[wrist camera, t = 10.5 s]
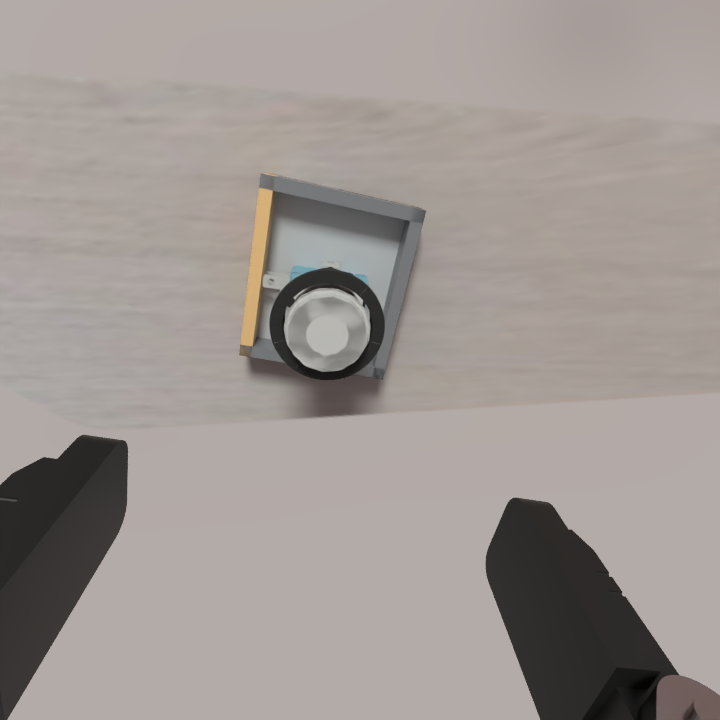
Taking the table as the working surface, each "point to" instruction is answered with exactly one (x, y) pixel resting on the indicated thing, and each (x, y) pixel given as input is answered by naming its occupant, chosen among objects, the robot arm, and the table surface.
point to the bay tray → (328, 252)
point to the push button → (324, 320)
